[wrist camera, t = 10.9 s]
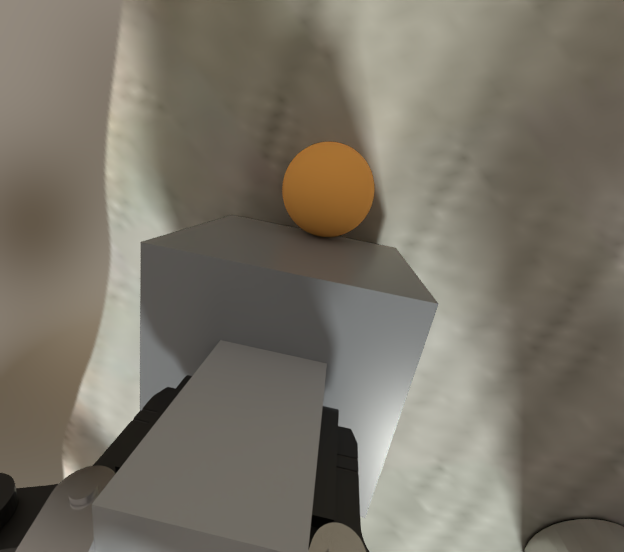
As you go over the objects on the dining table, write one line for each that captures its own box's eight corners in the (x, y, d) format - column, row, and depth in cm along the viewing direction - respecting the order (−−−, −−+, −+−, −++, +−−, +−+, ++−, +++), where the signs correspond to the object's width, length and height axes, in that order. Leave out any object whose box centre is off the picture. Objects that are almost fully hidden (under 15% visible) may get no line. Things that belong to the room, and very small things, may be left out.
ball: (370, 188, 20) (392, 130, 15) (357, 258, 18) (376, 218, 13) (295, 172, 20) (293, 110, 15) (276, 241, 18) (266, 195, 14)
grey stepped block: (395, 247, 18) (563, 468, 4) (357, 386, 21) (380, 776, 7) (231, 214, 19) (-109, 315, 5) (218, 355, 22) (-10, 668, 8)
